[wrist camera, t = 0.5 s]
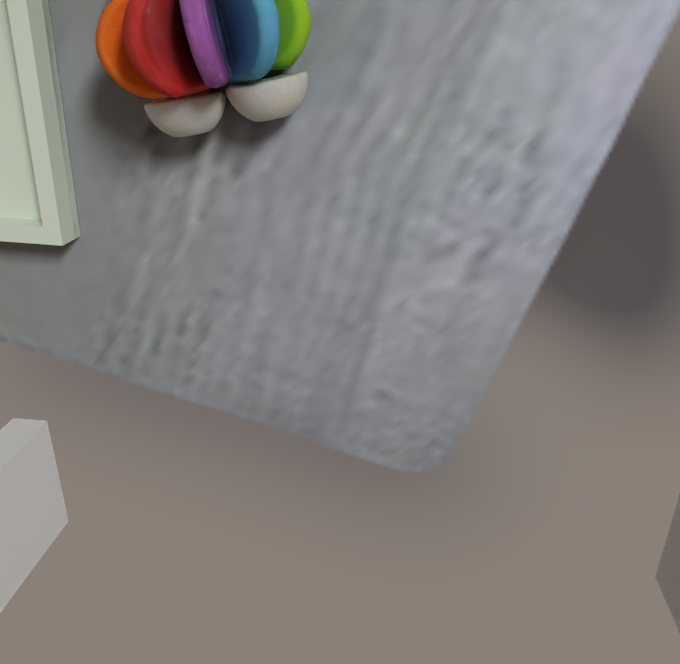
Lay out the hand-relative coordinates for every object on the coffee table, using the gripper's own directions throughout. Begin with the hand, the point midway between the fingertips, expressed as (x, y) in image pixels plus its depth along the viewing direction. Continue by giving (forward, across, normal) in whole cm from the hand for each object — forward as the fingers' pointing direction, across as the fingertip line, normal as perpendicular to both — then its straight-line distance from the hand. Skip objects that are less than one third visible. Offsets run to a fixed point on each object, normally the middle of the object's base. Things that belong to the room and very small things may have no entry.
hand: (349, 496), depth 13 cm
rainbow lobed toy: (+24, -9, +9) cm, 27 cm away
